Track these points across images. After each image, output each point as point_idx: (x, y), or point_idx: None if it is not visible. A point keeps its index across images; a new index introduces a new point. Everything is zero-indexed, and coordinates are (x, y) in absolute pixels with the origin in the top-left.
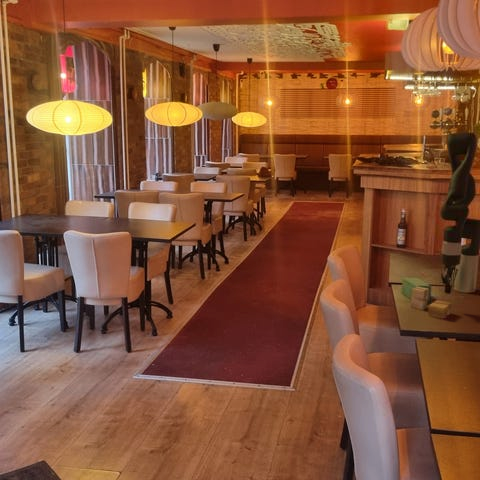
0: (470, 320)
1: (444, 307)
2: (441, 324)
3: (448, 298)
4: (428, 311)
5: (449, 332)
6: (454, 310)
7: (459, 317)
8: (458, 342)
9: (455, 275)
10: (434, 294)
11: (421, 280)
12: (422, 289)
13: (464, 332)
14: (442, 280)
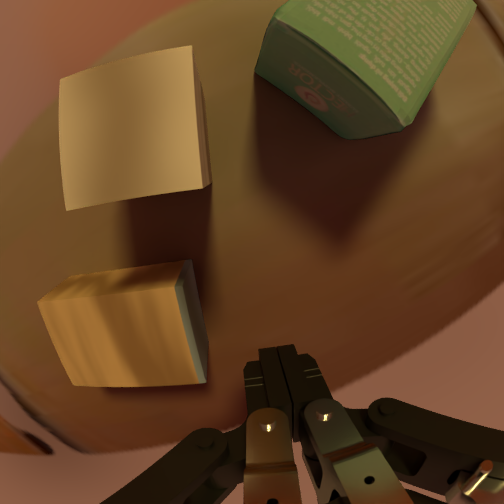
0: (189, 427)
1: (88, 383)
2: (44, 365)
3: (452, 205)
4: (56, 286)
5: (23, 402)
6: (277, 332)
7: (185, 391)
8: (8, 427)
9: (421, 479)
10: (461, 121)
11: (456, 28)
12: (118, 154)
13: (64, 434)
14: (144, 473)
